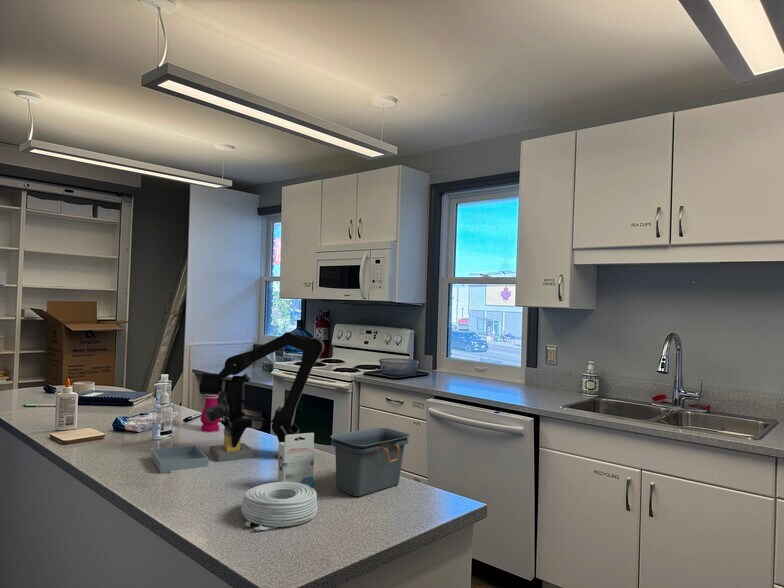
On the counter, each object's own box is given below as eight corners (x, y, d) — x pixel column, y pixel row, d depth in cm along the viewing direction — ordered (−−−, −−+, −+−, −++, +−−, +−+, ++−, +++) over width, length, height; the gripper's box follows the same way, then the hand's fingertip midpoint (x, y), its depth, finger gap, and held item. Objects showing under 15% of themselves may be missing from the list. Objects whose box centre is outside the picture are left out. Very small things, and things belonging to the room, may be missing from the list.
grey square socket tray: (254, 459, 174) (254, 451, 174) (218, 463, 168) (219, 455, 168) (243, 450, 183) (243, 442, 183) (209, 454, 177) (209, 446, 177)
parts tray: (207, 467, 163) (208, 457, 163) (160, 473, 156) (160, 462, 156) (195, 454, 176) (195, 445, 176) (150, 459, 169) (151, 449, 169)
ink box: (307, 482, 155) (309, 428, 155) (313, 487, 150) (315, 432, 151) (276, 485, 151) (279, 430, 151) (281, 491, 146) (284, 434, 147)
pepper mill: (224, 430, 209) (226, 376, 210) (208, 433, 203) (211, 378, 204) (211, 426, 213) (213, 374, 214) (195, 430, 207) (198, 376, 207)
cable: (247, 535, 119) (248, 507, 119) (235, 506, 135) (236, 481, 135) (326, 525, 126) (327, 498, 126) (305, 499, 142) (307, 475, 142)
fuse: (240, 455, 175) (241, 430, 175) (226, 457, 173) (228, 431, 173) (236, 452, 178) (237, 427, 179) (222, 454, 176) (224, 428, 176)
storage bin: (378, 473, 165) (380, 425, 165) (418, 487, 154) (420, 435, 155) (322, 489, 149) (325, 435, 149) (363, 506, 139) (366, 448, 139)
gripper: (200, 392, 179) (198, 440, 179) (216, 402, 164) (214, 455, 163) (235, 390, 185) (233, 437, 185) (253, 400, 170) (251, 451, 169)
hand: (232, 445), depth 176 cm, fingers closed on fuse, 4 cm apart
